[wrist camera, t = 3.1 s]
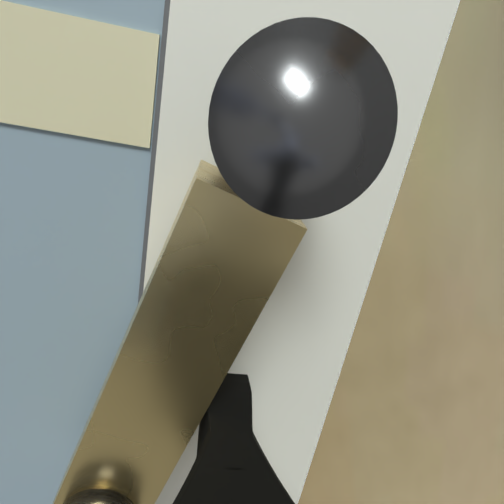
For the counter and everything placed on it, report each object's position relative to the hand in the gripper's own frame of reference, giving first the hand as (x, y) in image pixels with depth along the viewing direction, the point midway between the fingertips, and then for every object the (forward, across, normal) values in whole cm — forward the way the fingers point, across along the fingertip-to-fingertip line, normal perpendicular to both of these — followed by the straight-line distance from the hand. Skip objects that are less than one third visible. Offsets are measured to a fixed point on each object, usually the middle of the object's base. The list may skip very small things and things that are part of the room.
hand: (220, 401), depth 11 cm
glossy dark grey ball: (+2, 0, -8) cm, 8 cm away
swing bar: (0, +2, -1) cm, 2 cm away
